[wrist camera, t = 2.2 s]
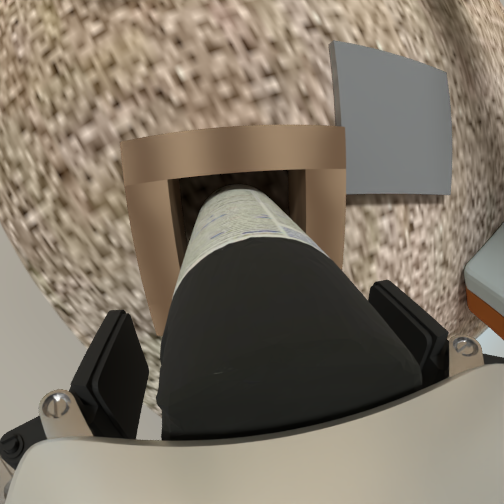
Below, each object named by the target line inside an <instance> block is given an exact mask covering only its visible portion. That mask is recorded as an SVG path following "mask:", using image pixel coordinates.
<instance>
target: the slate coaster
mask: <svg viewBox="0 0 504 504" xmlns="http://www.w3.org/2000/svg"><path fill="white" fill-rule="evenodd" d="M329 52H330V60H331V69H332V80H333V91H334V105H335V121H336V126H341V127H345V137H346V194H439V195H450V194H451V180H452V121H451V107H450V96H449V88H448V80H447V73H446V72H444V71H442V70H439V69H437V68H434V67H432V66H429V65H426V64H423V63H421V62H418V61H415V60H412V59H409V58H406V57H403V56H399V55H396V54H392V53H389V52H385V51H381V50H378V49H374V48H369V47H365V46H360V45H356V44H351V43H345V42H340V41H332V42H331V43H330V44H329Z"/></svg>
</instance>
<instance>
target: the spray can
mask: <svg viewBox="0 0 504 504" xmlns="http://www.w3.org/2000/svg"><path fill="white" fill-rule="evenodd" d="M160 360H161V365H162V366H161V368H160V377H159V389H158V393H157V396H156V401H157V405H158V406H159V407H160V408H161V410H162V434H161V438H162V441H193V440H215V439H229V438H239V437H248V436H256V435H263V434H270V433H276V432H282V431H288V430H293V429H298V428H303V427H308V426H312V425H317V424H321V423H325V422H329V421H333V420H336V419H340V418H344V417H347V416H351V415H354V414H357V413H360V412H364V411H367V410H370V409H373V408H376V407H379V406H381V405H384V404H387V403H390V402H392V401H395V400H398V399H400V398H403V397H405V396H408V395H410V394H412V393H415V392H417V391H420V390H421V388H422V374H421V370H420V366H419V364H418V363H417V361H416V360H415V358H414V357H413V355H412V354H411V352H410V351H409V350H408V349H407V347H406V346H405V345H404V344H403V342H402V341H401V340H400V339H399V338H398V336H397V335H396V334H395V333H394V331H393V330H392V329H391V328H390V327H389V325H388V324H387V323H386V322H385V320H384V319H383V318H382V317H381V316H380V314H379V313H378V312H377V311H376V310H375V308H374V307H373V306H372V305H371V304H370V303H369V302H368V300H367V299H366V298H365V297H364V296H363V294H362V293H361V292H360V291H359V290H358V289H357V288H356V286H355V285H354V284H353V283H352V282H351V281H350V280H349V278H348V277H347V276H346V275H345V274H344V273H343V271H342V270H341V269H340V268H339V267H338V266H337V265H336V263H335V262H334V261H333V260H331V259H330V257H329V256H328V255H327V254H326V253H325V252H324V251H323V250H322V249H321V248H320V247H319V246H318V245H317V244H316V243H315V242H314V241H313V240H312V239H311V238H310V237H309V236H308V235H307V234H306V233H305V232H304V231H303V230H302V229H301V228H300V227H299V226H298V225H297V224H296V223H295V222H293V220H292V219H291V218H289V217H288V216H287V215H286V214H285V213H284V212H283V211H282V210H281V209H280V208H279V207H278V206H277V205H276V204H275V203H274V202H273V201H272V200H271V199H270V198H269V197H268V196H267V195H265V194H264V193H263V192H262V191H260V190H259V189H257V188H254V187H252V186H249V185H244V184H233V185H228V186H225V187H222V188H220V189H218V190H216V191H215V192H213V193H212V194H211V195H210V196H209V197H208V198H207V199H206V201H205V202H204V204H203V205H202V207H201V209H200V212H199V215H198V218H197V220H196V223H195V226H194V229H193V232H192V235H191V238H190V241H189V244H188V247H187V250H186V254H185V257H184V260H183V263H182V266H181V270H180V273H179V277H178V280H177V283H176V286H175V290H174V294H173V298H172V302H171V305H170V309H169V313H168V317H167V321H166V325H165V329H164V333H163V337H162V342H161V352H160Z"/></svg>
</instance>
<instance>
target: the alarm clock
mask: <svg viewBox="0 0 504 504" xmlns="http://www.w3.org/2000/svg"><path fill="white" fill-rule="evenodd" d="M464 277H465V284H466V295H467V305H468V308H469V310H470V311H471V312H472V313H473V314H474V315H476V316H477V317H478V318H479V319H480V320H481V321H483V322H484V323H485V324H486V325H487V326H488V327H490V328H491V329H492V330H493V331H494V332H495V333H496V334H497V335H499V336H500V337H501V338H502V339H503V340H504V223H503V224H502V225H501V226H500V227H499V229H498V230H497V231H496V232H495V233H494V235H493V236H492V237H491V238H490V239H489V240H488V241H487V243H486V244H485V245H484V246H483V247H482V248H481V249H480V250H479V251H478V252H477V253H476V254H475V256H474V257H473V258H472V259H471V260H470V261H469V262H468V263H467V265H466V267H465V270H464Z"/></svg>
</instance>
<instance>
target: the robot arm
mask: <svg viewBox="0 0 504 504" xmlns="http://www.w3.org/2000/svg"><path fill="white" fill-rule="evenodd" d="M368 302H369V303H370V304H371V305H372V306H373V307H374V308H375V310H376V311H377V312H378V313H379V314H380V316H381V317H382V318H383V319H384V320H385V322H386V323H387V324H388V325H389V327H390V328H391V329H392V330H393V331H394V333H395V334H396V335H397V336H398V338H399V339H400V340H401V341H402V342H403V344H404V345H405V346H406V347H407V349H408V350H409V351H410V352H411V354H412V355H413V357H414V358H415V360H416V361H417V363H418V364H419V366H420V370H421V374H422V388H421V390H420V391H417V392H415V393H412V394H410V395H408V396H405V397H403V398H400V399H398V400H395V401H392V402H390V403H387V404H384V405H381V406H379V407H376V408H373V409H370V410H367V411H364V412H360V413H357V414H354V415H351V416H347V417H344V418H340V419H336V420H333V421H329V422H325V423H321V424H317V425H312V426H308V427H303V428H298V429H293V430H288V431H282V432H276V433H270V434H263V435H256V436H248V437H239V438H229V439H215V440H193V441H159V440H136V435H137V429H138V424H139V419H140V413H141V408H142V403H143V399H144V394H145V389H146V385H147V380H148V376H149V368H148V365H147V362H146V359H145V357H144V354H143V351H142V348H141V346H140V343H139V340H138V337H137V334H136V331H135V328H134V325H133V322H132V319H131V316H130V314H129V313H127V314H126V312H125V311H124V310H111V311H109V312H108V314H107V316H106V317H105V319H104V321H103V323H102V324H101V326H100V328H99V330H98V332H97V333H96V335H95V337H94V339H93V341H92V343H91V344H90V346H89V348H88V350H87V352H86V354H85V356H84V358H83V360H82V362H81V364H80V366H79V368H78V370H77V372H76V374H75V376H74V378H73V380H72V382H71V387H70V390H69V391H67V390H63V389H58V390H54V391H51V392H49V393H48V394H46V395H45V396H44V397H43V398H42V400H41V401H40V404H39V408H38V409H39V415H40V416H38V417H36V418H34V419H32V420H30V421H28V422H26V423H24V424H23V425H20V426H19V427H17V428H15V429H13V430H11V431H9V432H7V433H6V434H4V435H3V436H2V438H1V440H0V504H504V358H502V357H497V356H492V355H487V354H483V353H482V348H481V345H480V344H479V342H478V341H477V340H475V339H474V338H472V337H470V336H467V335H455V336H453V337H452V338H451V339H450V341H448V340H447V336H448V333H449V332H448V331H447V330H446V329H445V328H443V327H442V326H441V325H440V324H439V323H438V322H437V321H436V320H435V319H434V318H432V317H431V316H430V315H429V314H428V313H427V312H426V311H425V310H423V309H422V308H421V307H420V306H419V305H418V304H417V303H415V302H414V301H413V300H412V299H411V298H410V297H408V296H407V295H406V294H405V293H404V292H402V291H401V290H400V289H399V288H398V287H397V286H395V285H394V284H393V283H392V282H391V281H389V280H383V281H378V282H375V283H374V285H373V286H372V287H371V288H370V293H369V299H368Z"/></svg>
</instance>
